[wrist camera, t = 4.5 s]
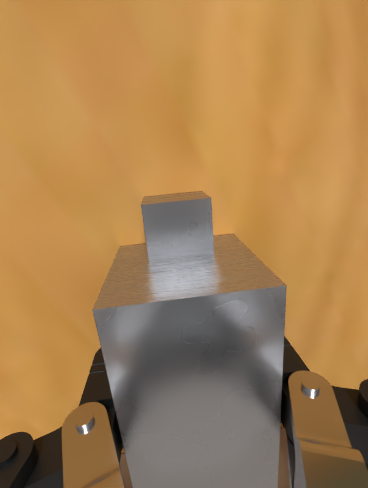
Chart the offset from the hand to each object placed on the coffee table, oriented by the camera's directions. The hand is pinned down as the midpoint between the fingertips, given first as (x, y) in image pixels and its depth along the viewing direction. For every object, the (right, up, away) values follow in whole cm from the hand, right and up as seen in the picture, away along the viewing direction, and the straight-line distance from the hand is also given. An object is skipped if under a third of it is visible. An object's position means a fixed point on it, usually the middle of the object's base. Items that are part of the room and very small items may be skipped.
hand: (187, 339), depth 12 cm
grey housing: (0, 0, +1) cm, 1 cm away
